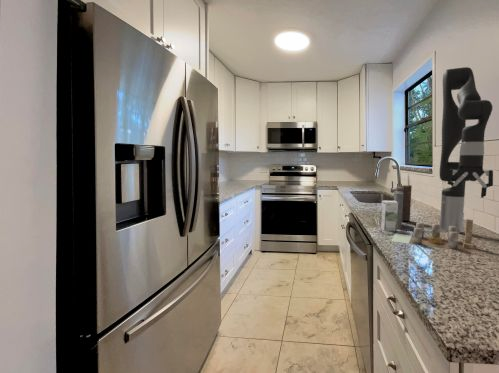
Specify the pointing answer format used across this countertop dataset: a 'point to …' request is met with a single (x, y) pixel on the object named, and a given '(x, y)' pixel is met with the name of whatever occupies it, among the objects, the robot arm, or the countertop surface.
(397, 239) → the green pad
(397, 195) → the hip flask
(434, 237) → the gold star hexagon
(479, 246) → the countertop surface
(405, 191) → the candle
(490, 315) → the countertop surface
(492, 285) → the countertop surface
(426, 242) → the board
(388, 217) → the syrup box
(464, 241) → the light wood t-shaped block
